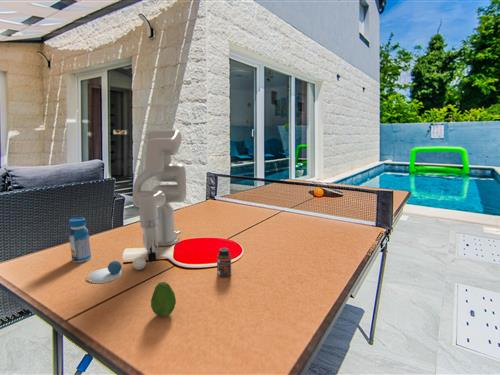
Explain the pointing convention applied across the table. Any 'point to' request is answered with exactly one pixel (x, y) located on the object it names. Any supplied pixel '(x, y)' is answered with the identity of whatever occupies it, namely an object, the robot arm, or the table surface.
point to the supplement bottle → (224, 263)
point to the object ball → (114, 267)
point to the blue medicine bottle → (79, 240)
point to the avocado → (163, 300)
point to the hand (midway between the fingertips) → (152, 260)
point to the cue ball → (139, 263)
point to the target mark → (103, 276)
